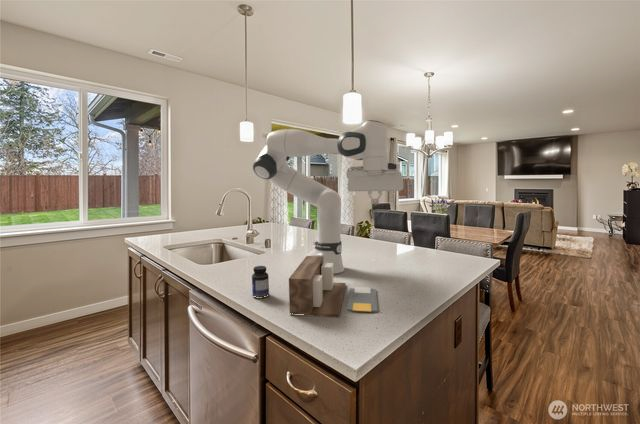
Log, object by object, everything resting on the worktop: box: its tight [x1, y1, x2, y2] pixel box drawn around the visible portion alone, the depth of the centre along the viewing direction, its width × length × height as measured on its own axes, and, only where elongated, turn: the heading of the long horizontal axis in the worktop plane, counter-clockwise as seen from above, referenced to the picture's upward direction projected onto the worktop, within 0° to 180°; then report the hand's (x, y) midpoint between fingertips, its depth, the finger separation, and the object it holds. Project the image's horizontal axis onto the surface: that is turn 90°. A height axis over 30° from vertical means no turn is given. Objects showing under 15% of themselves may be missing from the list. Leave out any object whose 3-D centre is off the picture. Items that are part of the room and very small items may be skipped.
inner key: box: [321, 263, 335, 290], centre depth 118 cm, size 4×6×9 cm, turn 172°
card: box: [346, 286, 378, 313], centre depth 109 cm, size 10×22×1 cm, turn 171°
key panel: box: [288, 255, 346, 318], centre depth 110 cm, size 16×30×12 cm, turn 171°
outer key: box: [313, 275, 323, 307], centre depth 103 cm, size 4×6×9 cm, turn 172°
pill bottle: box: [251, 265, 270, 297], centre depth 114 cm, size 6×6×11 cm
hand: (374, 203), depth 112 cm, fingers closed
